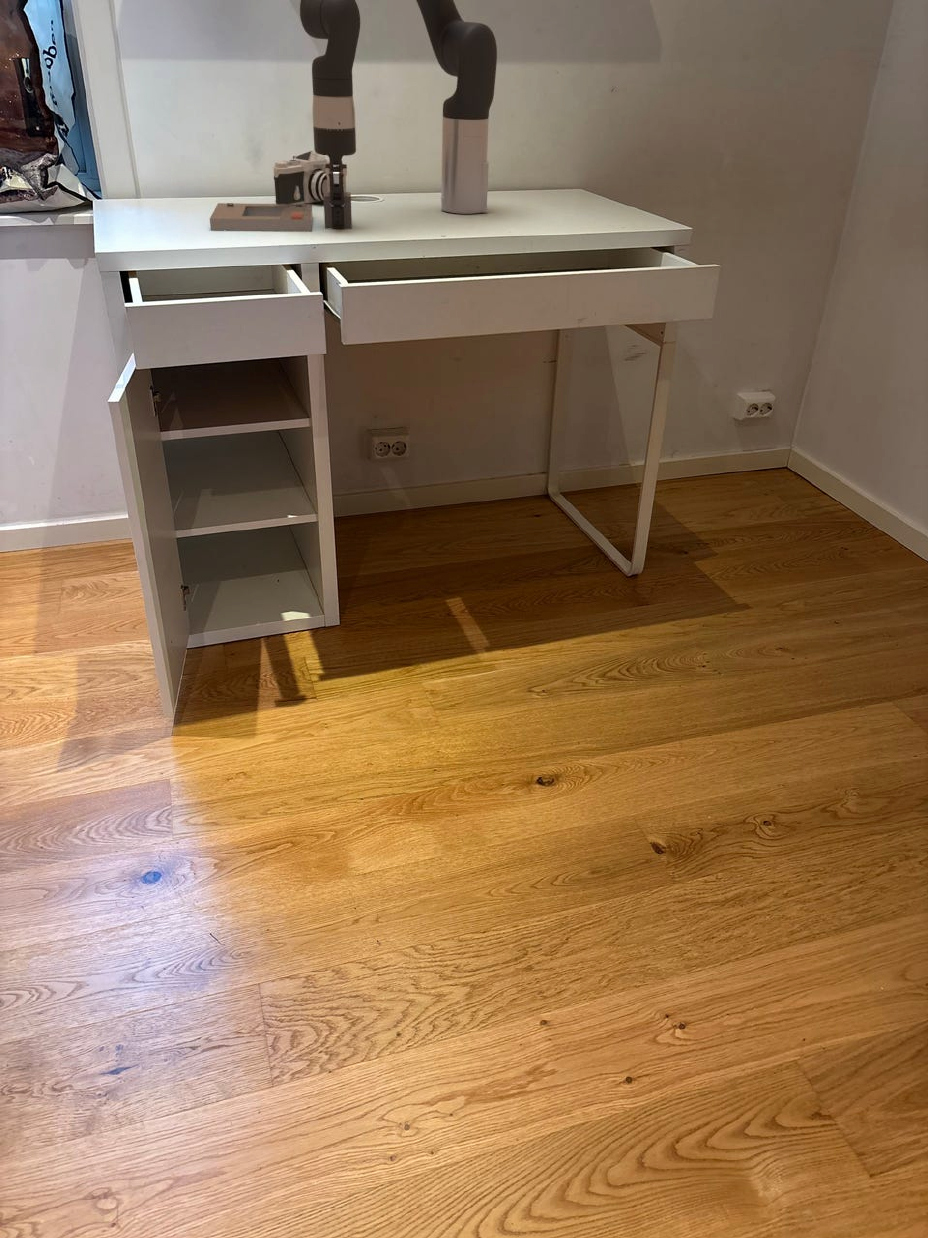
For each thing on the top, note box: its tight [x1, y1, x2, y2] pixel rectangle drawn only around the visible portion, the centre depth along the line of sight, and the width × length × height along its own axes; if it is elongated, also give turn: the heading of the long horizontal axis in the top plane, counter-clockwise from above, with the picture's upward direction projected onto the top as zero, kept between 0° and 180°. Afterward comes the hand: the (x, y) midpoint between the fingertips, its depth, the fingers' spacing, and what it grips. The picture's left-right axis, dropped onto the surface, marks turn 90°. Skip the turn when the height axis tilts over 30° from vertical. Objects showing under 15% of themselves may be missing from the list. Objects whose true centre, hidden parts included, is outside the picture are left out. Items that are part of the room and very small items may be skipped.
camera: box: [272, 150, 330, 204], centre depth 195 cm, size 16×9×10 cm, turn 145°
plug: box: [323, 191, 353, 230], centre depth 175 cm, size 5×4×8 cm
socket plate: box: [209, 202, 314, 233], centre depth 176 cm, size 18×15×3 cm
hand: (338, 224), depth 177 cm, fingers open, 4 cm apart
